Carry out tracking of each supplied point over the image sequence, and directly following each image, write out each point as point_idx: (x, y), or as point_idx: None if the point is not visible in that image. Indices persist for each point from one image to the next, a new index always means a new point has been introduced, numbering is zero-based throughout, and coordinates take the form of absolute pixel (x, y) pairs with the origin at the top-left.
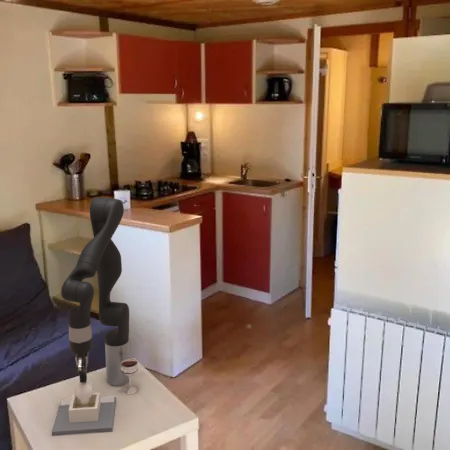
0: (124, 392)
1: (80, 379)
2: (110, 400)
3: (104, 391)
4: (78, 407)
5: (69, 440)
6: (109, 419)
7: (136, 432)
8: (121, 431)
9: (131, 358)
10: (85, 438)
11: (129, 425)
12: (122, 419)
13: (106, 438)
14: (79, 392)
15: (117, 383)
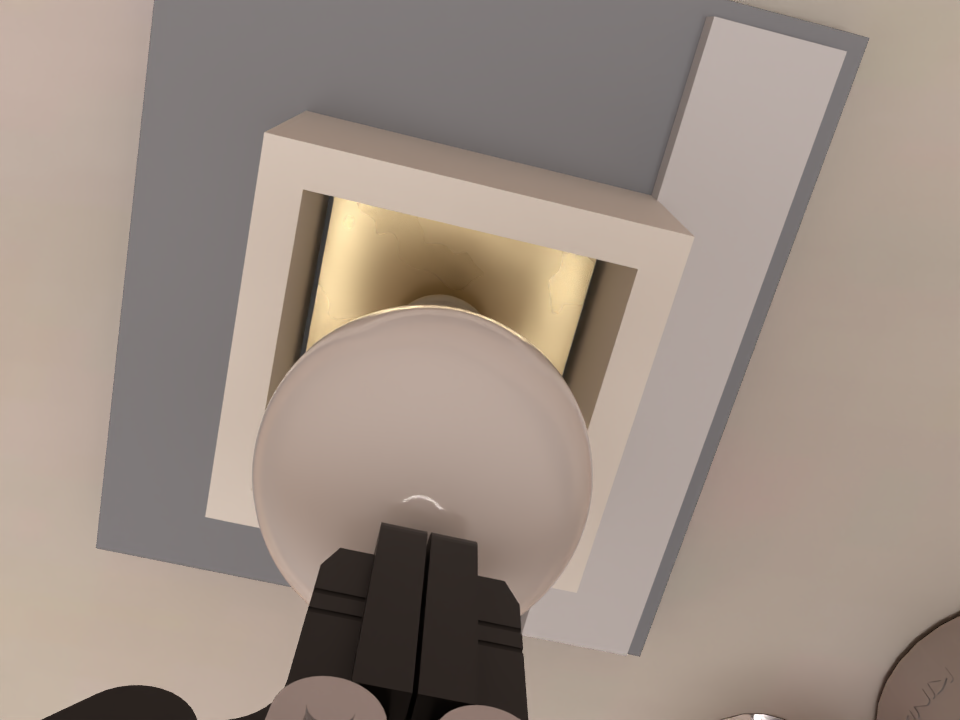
0: (737, 716)
1: (368, 572)
2: (560, 610)
3: (856, 548)
4: (523, 260)
5: (50, 77)
6: (246, 542)
7: (53, 705)
8: (96, 596)
9: None
10: (53, 257)
11: (173, 671)
12: (286, 632)
13: (13, 456)
14: (278, 409)
15: (899, 702)
